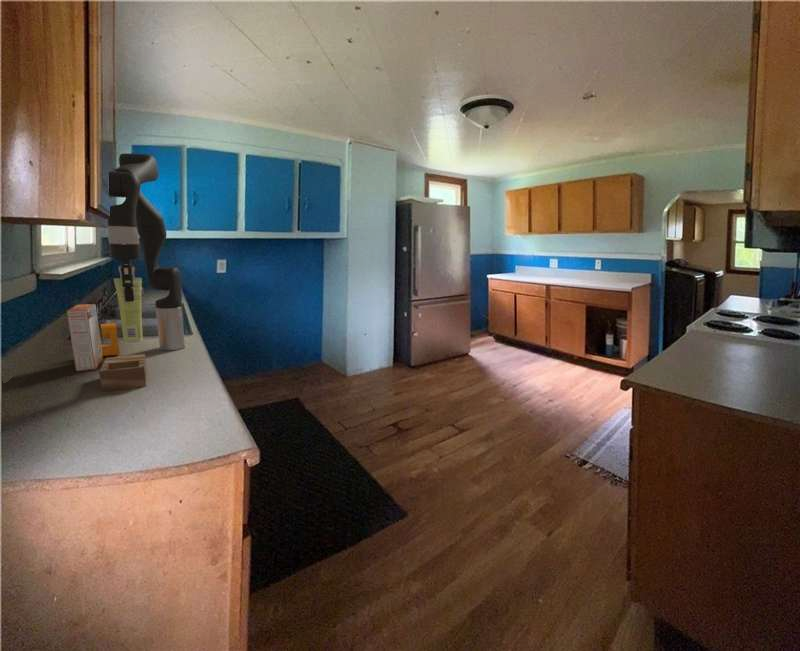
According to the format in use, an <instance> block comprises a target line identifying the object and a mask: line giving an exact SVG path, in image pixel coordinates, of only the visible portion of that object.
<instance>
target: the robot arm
mask: <svg viewBox="0 0 800 651" xmlns="http://www.w3.org/2000/svg"><path fill="white" fill-rule="evenodd" d="M118 164H119V166H118V167H117V168H109V169H110V171H109V195H110V198H111V197H112V198H125V199H124V201H123V202H122V203H120V204H114V205H109V206H110V216H109V217H108V218H107V217H106V219H107V226H108V227H107V228H108V229H107V237H108V238H107V239H108V247H109V256H110V259H111V260H120V261H121V264H119V265H118V272H119V276H120V277H119V278H121V281H122V283H123V284H122V286H123V288H124V293H125V301H126V302H131V301H134V293H133V287H134V286H133V281H134V280H135V278H136V277H135V271H136V268H135V267H136V266H135V265H133V264H132V260H140V259H141V257H142V256H141V248H142V251H143V252H142V253H143V256H144V263H145V270H146V276H147V280H148V285H149V286H150V288H151V289H152V290H153V291H154V290H155V291H169V292H168V295H166V296H165V297H163V298H160V299H159V298H158V299H157V300H156V301H155V302H154V303H155V304H154V305H155V313H156V315H155V316H156V324H157V333H158V334H157V336H158V345H159V350H160V351H176V350H182V349H185V348H186V345H185V343H186V342H185V332H184V329H185V328H184V319H183V307H182V301H183V300H182V277H181V272H180V270H179V269H178V268H177V267H171V266H170V267H169V266H166V267H165V266H163V267H162V266H160V265H159V262H158V256H159V254H160V251H161V249H162V247H163V245H164V243H165V241H166V239H167V229H166V224H165V220H164V217H163V216H162V214H161V213H160V211H159V210H158V209H157V208H156V207H155V206H154V205H153V204H152V203H151V202H150V201H149V200H148V199H147V198H146V197H145V196H144V194H143V193H142V191H141V186H142V185H143V184H145V183H150V182H155V181H157V180H158V178H159V167H158V166H159V165H158V162H157V160H156V159H155V157H154V156H152V155H150V154H148V153H121V154H120V155H119V158H118ZM140 244H141V246H140ZM125 281H130V282H131V283H125ZM181 348H182V349H181Z"/></svg>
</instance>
